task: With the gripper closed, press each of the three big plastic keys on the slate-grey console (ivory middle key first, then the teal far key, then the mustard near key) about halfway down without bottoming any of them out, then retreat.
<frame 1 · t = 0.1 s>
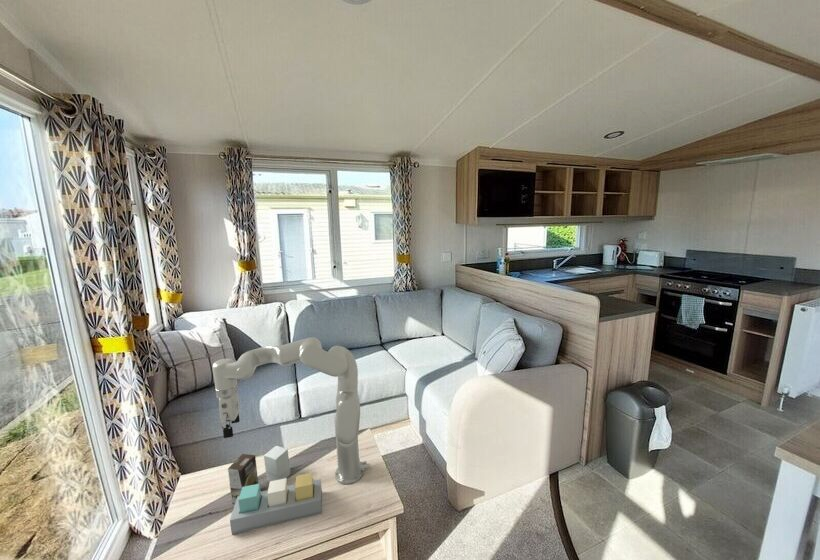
hand: (232, 429, 131), 31 cm above the table, fingers open, 9 cm apart
teal key: (250, 499, 125), point 8 cm above the table, slide at 0.0 cm
ivory key: (278, 493, 127), point 8 cm above the table, slide at 0.0 cm
supplement box: (278, 477, 147), on the table
coffee box: (246, 495, 137), on the table
key console: (280, 511, 129), on the table
mustard key: (304, 487, 130), point 8 cm above the table, slide at 0.0 cm
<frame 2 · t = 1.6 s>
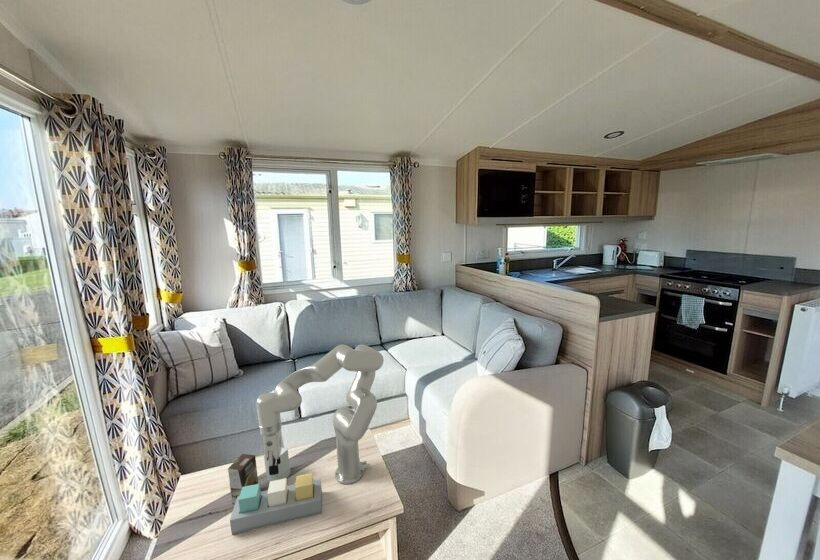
hand: (275, 468, 126), 19 cm above the table, fingers open, 4 cm apart
nothing on the table moved.
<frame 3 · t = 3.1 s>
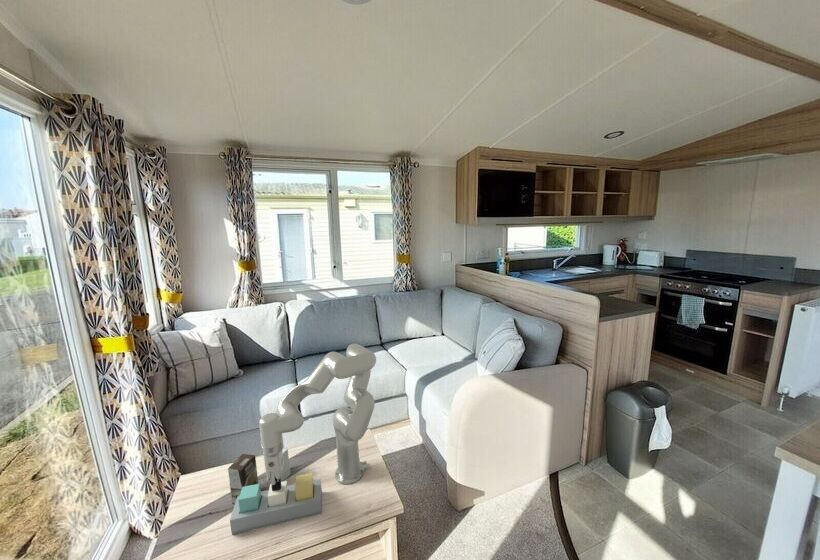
hand: (276, 488, 127), 11 cm above the table, fingers closed
ivory key: (278, 496, 128), point 7 cm above the table, slide at 1.2 cm, touching gripper
everything else where it was.
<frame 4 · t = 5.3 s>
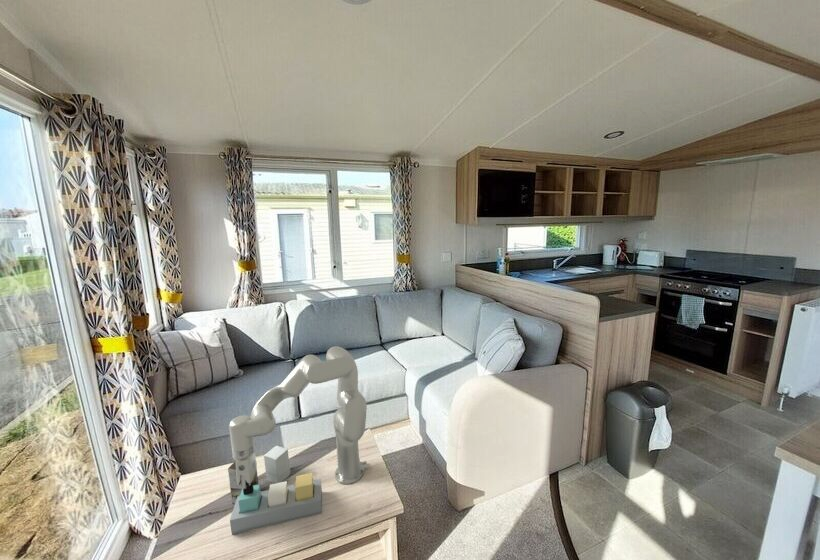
hand: (248, 492, 124), 12 cm above the table, fingers closed
teal key: (250, 500, 125), point 8 cm above the table, slide at 0.3 cm, touching gripper
ivory key: (278, 496, 128), point 7 cm above the table, slide at 1.4 cm
everything else where it was.
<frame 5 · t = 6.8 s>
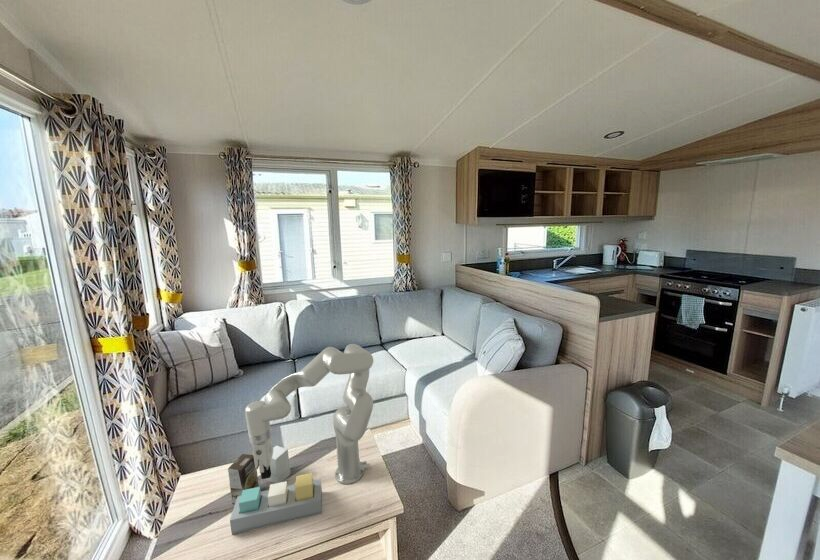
hand: (266, 476, 125), 16 cm above the table, fingers closed
teal key: (250, 502, 125), point 7 cm above the table, slide at 1.4 cm
everything else where it was.
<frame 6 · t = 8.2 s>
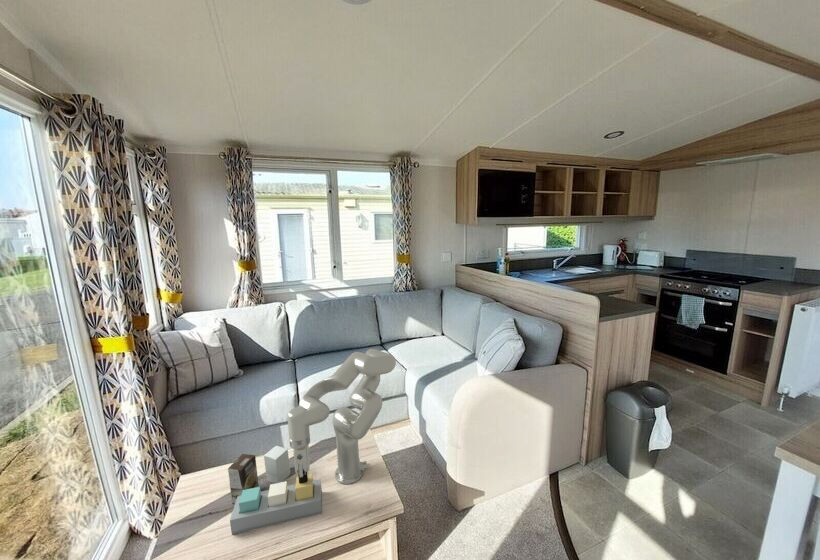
hand: (303, 481, 129), 11 cm above the table, fingers closed
mustard key: (304, 488, 130), point 8 cm above the table, slide at 0.4 cm, touching gripper
everything else where it was.
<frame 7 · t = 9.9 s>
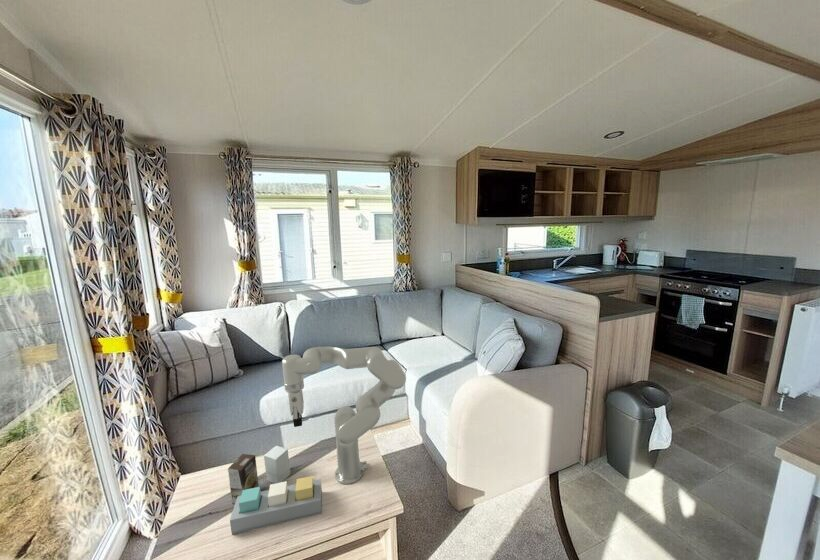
hand: (298, 425, 137), 28 cm above the table, fingers closed
mustard key: (305, 490, 130), point 7 cm above the table, slide at 1.4 cm
everything else where it was.
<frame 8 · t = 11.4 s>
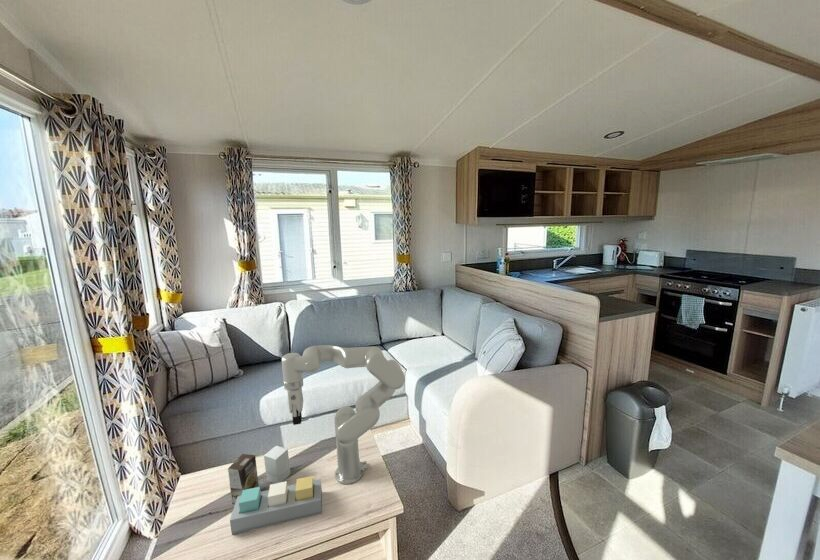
hand: (297, 423, 138), 29 cm above the table, fingers closed
nothing on the table moved.
at the end: ivory key slide at 1.4 cm; teal key slide at 1.4 cm; mustard key slide at 1.4 cm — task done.
